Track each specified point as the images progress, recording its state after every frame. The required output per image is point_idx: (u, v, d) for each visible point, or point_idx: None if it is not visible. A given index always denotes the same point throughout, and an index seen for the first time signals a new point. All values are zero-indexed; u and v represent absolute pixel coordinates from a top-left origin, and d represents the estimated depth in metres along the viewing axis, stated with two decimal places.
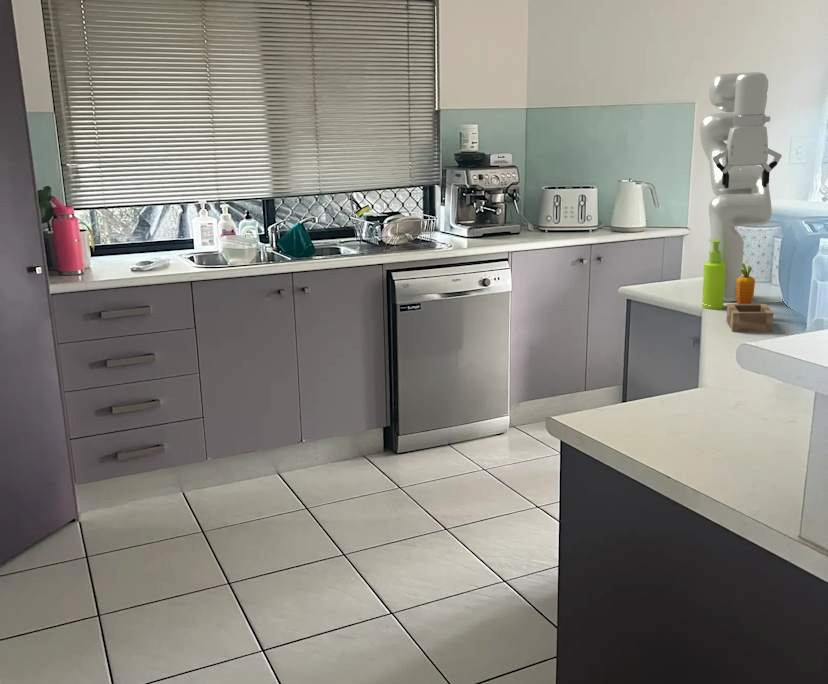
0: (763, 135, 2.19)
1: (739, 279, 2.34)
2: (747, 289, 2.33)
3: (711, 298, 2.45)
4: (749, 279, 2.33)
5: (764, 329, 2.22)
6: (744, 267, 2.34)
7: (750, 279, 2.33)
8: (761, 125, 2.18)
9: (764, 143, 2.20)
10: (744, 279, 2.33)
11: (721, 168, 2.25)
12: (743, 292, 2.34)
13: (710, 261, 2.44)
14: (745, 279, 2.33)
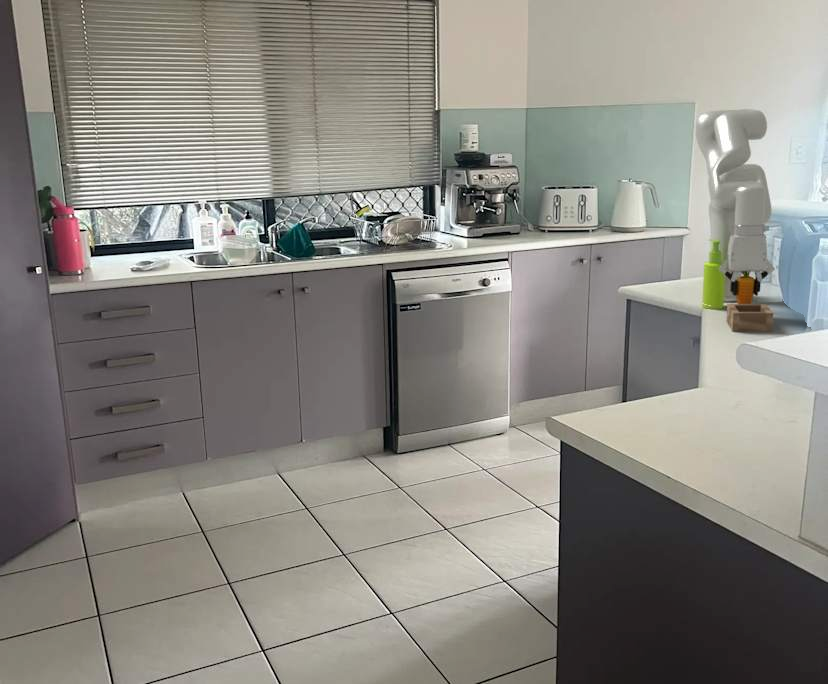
0: (762, 244, 2.29)
1: (739, 279, 2.34)
2: (747, 289, 2.33)
3: (711, 298, 2.45)
4: (749, 279, 2.33)
5: (764, 329, 2.22)
6: None
7: (750, 279, 2.33)
8: (760, 235, 2.28)
9: (763, 251, 2.29)
10: (744, 279, 2.33)
11: (729, 276, 2.34)
12: (743, 292, 2.34)
13: (710, 261, 2.44)
14: (745, 279, 2.33)
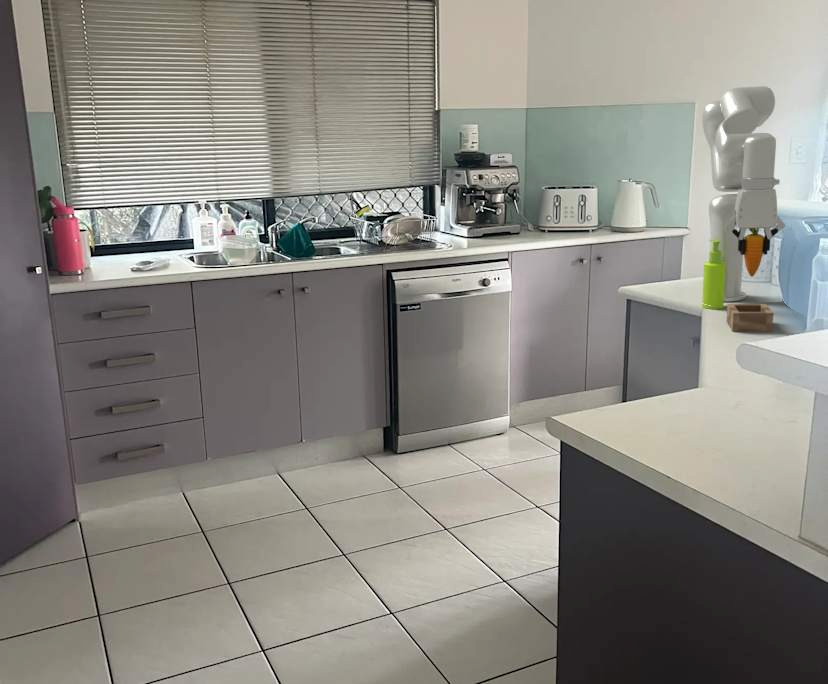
0: (772, 198, 2.15)
1: (747, 237, 2.20)
2: (756, 247, 2.19)
3: (711, 298, 2.45)
4: (758, 237, 2.18)
5: (764, 329, 2.22)
6: None
7: (759, 237, 2.18)
8: (770, 188, 2.14)
9: (773, 206, 2.15)
10: (753, 237, 2.19)
11: (737, 234, 2.20)
12: (752, 251, 2.19)
13: (710, 261, 2.44)
14: (754, 237, 2.18)
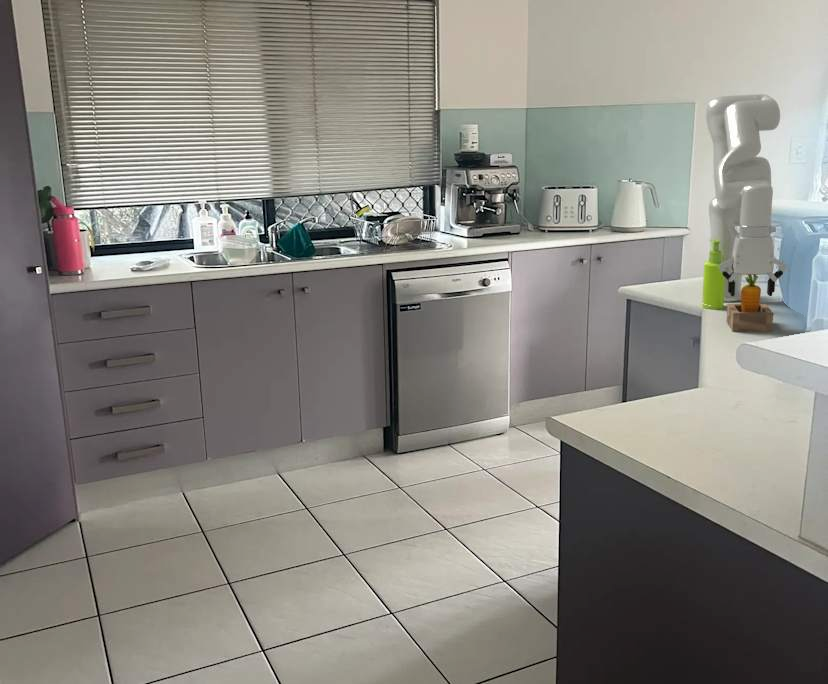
0: (769, 246, 2.18)
1: (744, 288, 2.24)
2: (753, 298, 2.23)
3: (711, 298, 2.45)
4: (755, 288, 2.22)
5: (764, 329, 2.22)
6: (750, 275, 2.24)
7: (756, 288, 2.22)
8: (767, 236, 2.17)
9: (770, 254, 2.19)
10: (749, 288, 2.23)
11: (727, 276, 2.24)
12: (749, 302, 2.23)
13: (710, 261, 2.44)
14: (751, 288, 2.23)
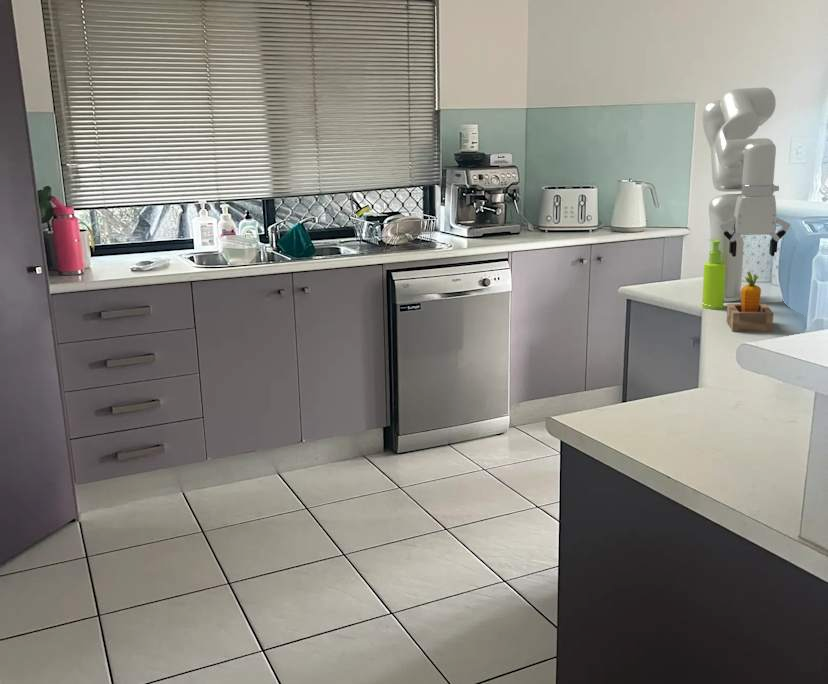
0: (771, 205, 2.15)
1: (744, 288, 2.24)
2: (753, 298, 2.23)
3: (711, 298, 2.45)
4: (755, 288, 2.22)
5: (764, 329, 2.22)
6: (750, 275, 2.24)
7: (756, 288, 2.22)
8: (770, 195, 2.14)
9: (772, 213, 2.16)
10: (750, 288, 2.23)
11: (728, 236, 2.21)
12: (749, 302, 2.23)
13: (710, 261, 2.44)
14: (751, 288, 2.23)
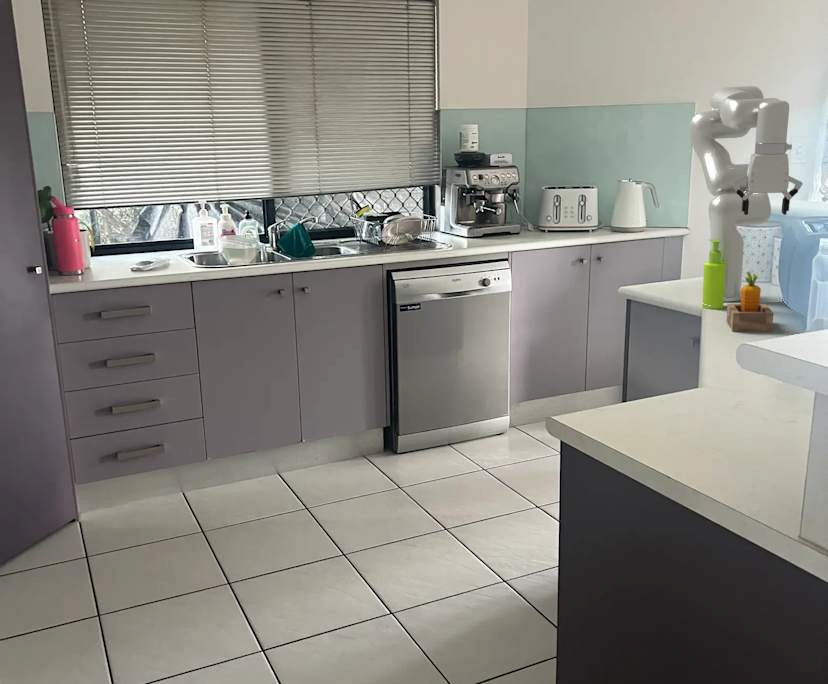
0: (784, 163, 2.18)
1: (744, 288, 2.24)
2: (752, 298, 2.23)
3: (711, 298, 2.45)
4: (754, 288, 2.22)
5: (764, 329, 2.22)
6: (749, 275, 2.24)
7: (755, 288, 2.23)
8: (782, 153, 2.17)
9: (785, 171, 2.19)
10: (749, 288, 2.23)
11: (741, 195, 2.25)
12: (749, 302, 2.23)
13: (710, 261, 2.44)
14: (750, 288, 2.23)
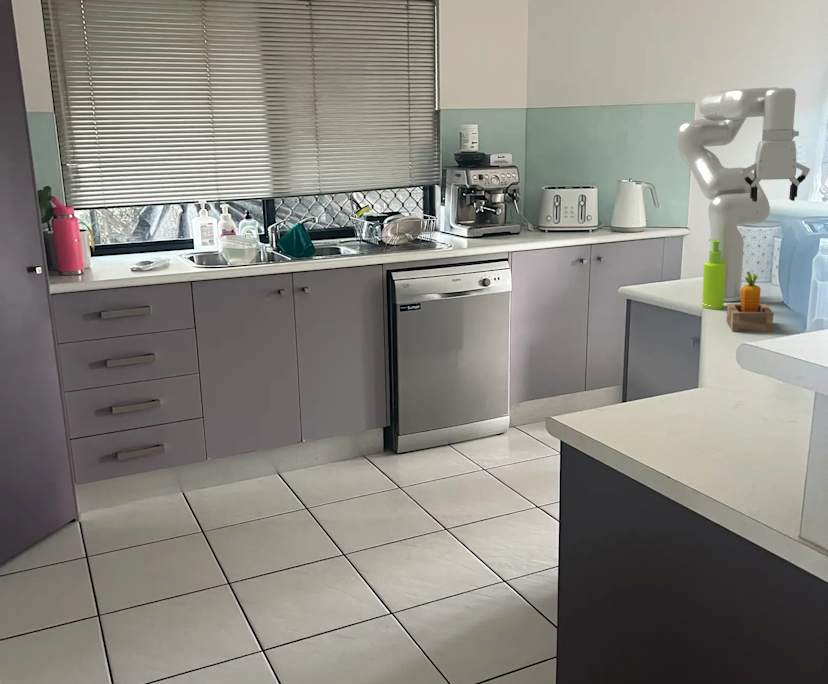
0: (792, 149, 2.21)
1: (744, 288, 2.24)
2: (752, 298, 2.23)
3: (711, 298, 2.45)
4: (754, 288, 2.23)
5: (764, 329, 2.22)
6: (749, 275, 2.24)
7: (755, 288, 2.23)
8: (790, 140, 2.21)
9: (793, 157, 2.22)
10: (749, 288, 2.23)
11: (749, 182, 2.27)
12: (749, 302, 2.23)
13: (710, 261, 2.44)
14: (750, 288, 2.23)
